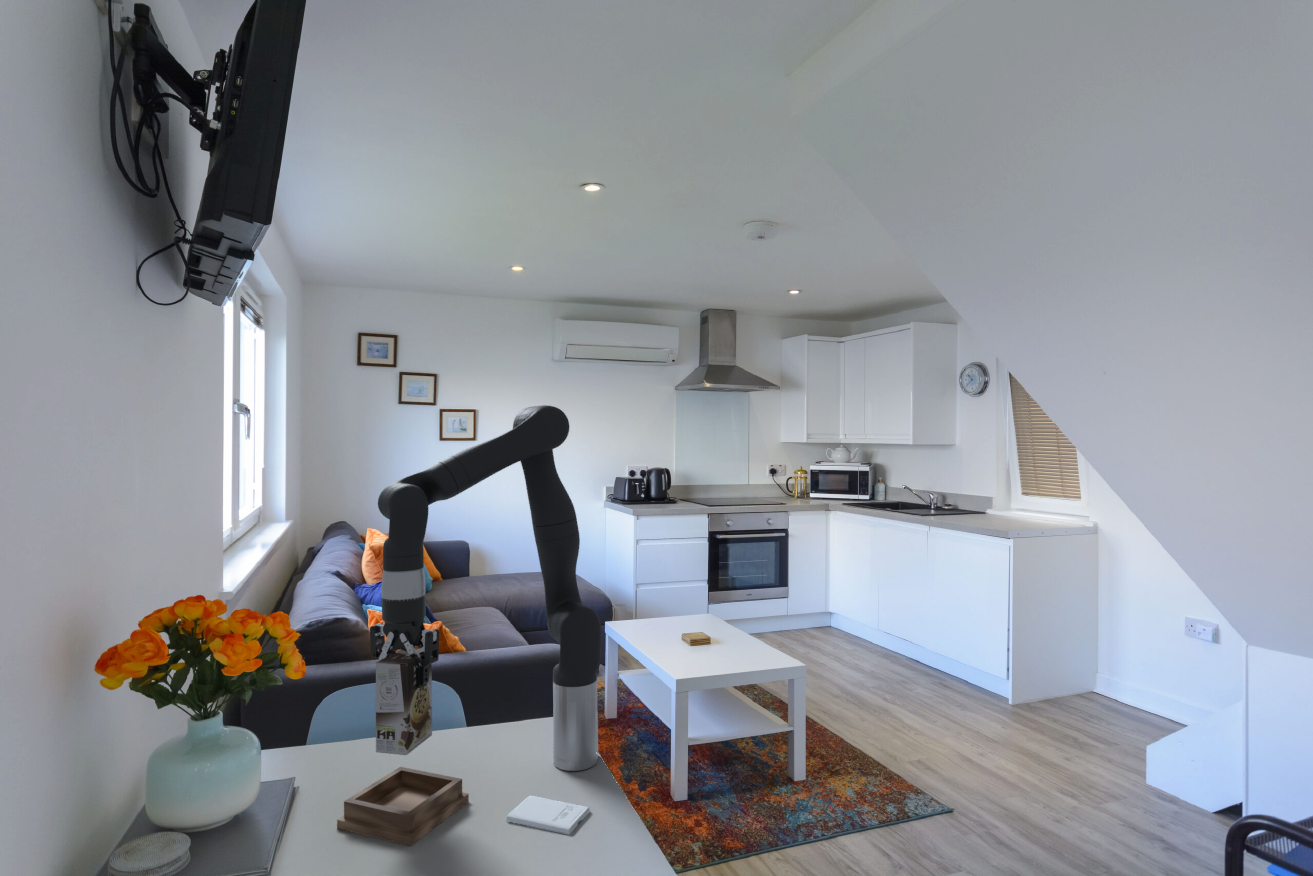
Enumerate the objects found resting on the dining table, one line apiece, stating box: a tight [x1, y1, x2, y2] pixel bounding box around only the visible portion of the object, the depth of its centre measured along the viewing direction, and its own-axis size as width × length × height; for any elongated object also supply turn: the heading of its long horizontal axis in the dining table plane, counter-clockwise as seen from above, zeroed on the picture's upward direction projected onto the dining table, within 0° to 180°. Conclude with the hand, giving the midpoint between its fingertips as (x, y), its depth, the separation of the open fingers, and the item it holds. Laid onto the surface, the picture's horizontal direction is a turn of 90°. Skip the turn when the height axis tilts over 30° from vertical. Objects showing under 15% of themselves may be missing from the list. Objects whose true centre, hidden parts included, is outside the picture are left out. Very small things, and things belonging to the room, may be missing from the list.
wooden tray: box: [336, 766, 470, 847], centre depth 133 cm, size 16×16×4 cm
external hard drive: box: [506, 795, 591, 836], centre depth 132 cm, size 2×8×12 cm
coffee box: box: [375, 648, 433, 756], centre depth 133 cm, size 9×6×16 cm
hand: (404, 684), depth 133 cm, fingers closed on coffee box, 7 cm apart
